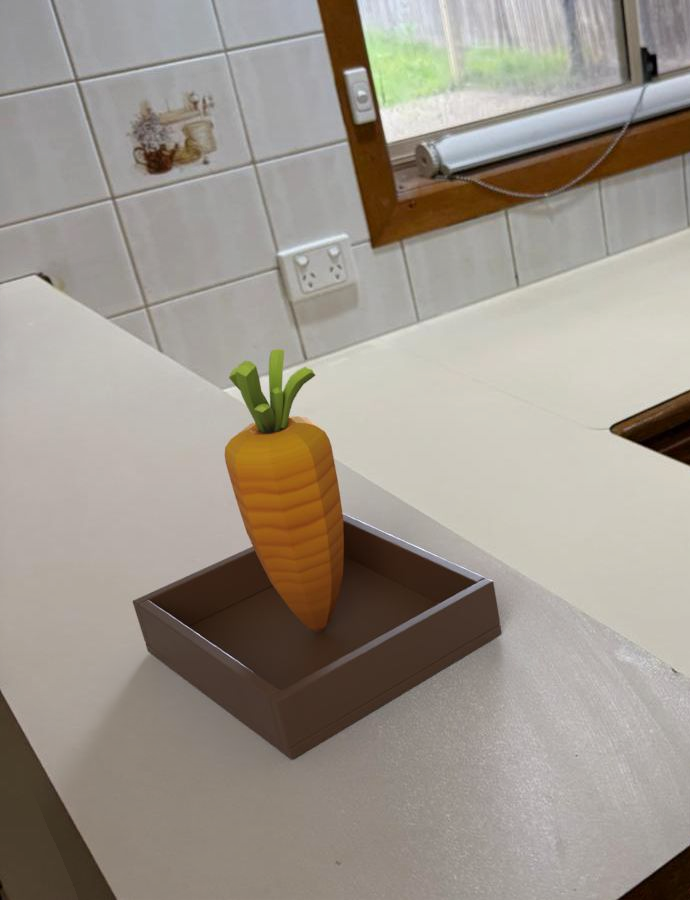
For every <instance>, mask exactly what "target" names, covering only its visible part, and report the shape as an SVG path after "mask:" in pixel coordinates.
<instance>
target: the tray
mask: <svg viewBox="0 0 690 900" xmlns="http://www.w3.org/2000/svg"><path fill="white" fill-rule="evenodd" d="M343 532H344V558H343V575H342V580H341V586H340V591H339V596H338V599H337V602H336V605H335V608H334V611H333V614H332V617H331V620H330V622H329V623H328V625H327V626H326V627H325V629H324V630H323V631H322V632H320V633H318V632H315V631H313V630H310V629H308V628H307V627H306V625H305V624H304V623H303V622H302V621H301V620H300V619H299V618H298V617H297V616H296V615H295V614H294V613H293V612H292V611H291V609H290V608H289V607H288V605H287V604H286V603H285V601H284V600H283V599H282V597H281V596H280V595H279V593H278V592H277V590H276V589H275V588H274V586H273V585H272V584H271V582H270V580H269V578H268V576H267V574H266V572H265V570H264V568H263V566H262V564H261V562H260V560H259V558H258V556H257V554H256V552H255V549H254V547H253V545H252V546H251V547H248V548H246V549H243V550H242V551H240V552H237V553H235V554H233V555H231V556H228V557H226V558H224V559H221V560H220V561H217V562H214V563H213V564H211V565H208V566H206V567H204V568H202V569H199V570H198V571H195V572H193V573H191V574H188V575H187V576H184V577H182V578H180V579H177V580H175V581H173V582H171V583H168V584H167V585H164V586H162V587H160V588H158V589H156V590H154V591H151V592H149V593H147V594H145V595H142V596H140V597H138V598H136V599H134V600H132V604H133V608H134V611H135V614H136V618H137V622H138V624H139V627H140V631H141V634H142V637H143V640H144V643H145V647H146V651H147V652H148V653H149V654H151V656H153V657H155V658H156V659H157V660H159V661H160V662H161V663H163V664H164V665H165V666H166V667H168V668H169V669H171V670H172V671H173V672H174V673H176V674H177V675H178V676H180V677H181V678H182V679H183V680H185V681H186V682H188V683H189V684H190V685H192V686H193V687H194V688H195V689H197V690H198V691H199V692H201V693H202V694H204V695H205V696H206V697H208V699H210V700H211V701H213V702H214V703H216V704H217V705H218V706H220V707H221V708H222V709H223V710H225V711H226V712H228V713H229V714H230V715H231V716H233V717H234V718H235V719H237V720H238V721H239V722H241V723H242V724H243V725H245V726H246V727H247V728H249V729H250V730H251V731H253V732H254V733H255V734H257V735H259V737H261V738H262V739H264V740H265V742H267V743H268V744H269V745H271V746H273V747H274V748H275V749H276V750H277V751H279V752H281V753H282V754H283V755H285V756H286V757H287V758H288V759H290V760H294V759H296V758H297V757H299V756H301V755H303V754H304V753H306V752H308V751H310V750H312V749H313V748H314V747H316V746H318V745H319V744H322V743H323V742H325V741H326V740H327V739H329V738H332V737H333V736H335V735H336V734H338V733H340V732H341V731H342V730H344V729H346V728H348V727H349V726H351V725H353V724H354V723H356V722H358V721H359V720H361V719H363V718H364V717H366V716H367V715H369V714H371V713H373V712H374V711H376V710H377V709H379V708H381V707H382V706H384V705H387V704H388V703H389V702H391V701H393V700H395V699H397V698H398V697H399V696H401V695H403V694H404V693H407V692H408V691H409V690H412V689H413V688H414V687H416V686H419V684H421V683H423V682H424V681H427V680H428V679H429V678H431V677H433V676H434V675H436V674H437V673H440V672H441V671H442V670H444V669H446V668H448V667H449V666H451V665H452V664H454V663H456V662H458V661H459V660H461V659H463V658H465V657H466V656H468V655H469V654H471V653H473V652H474V651H475V650H478V649H479V648H481V647H482V646H484V645H486V644H488V643H489V642H491V641H492V640H494V639H496V638H498V637H499V636H501V635H502V628H501V627H502V626H501V620H500V615H499V614H500V613H499V608H498V601H497V596H496V589H495V582H494V581H493V580H492V579H489V578H486V577H484V576H483V575H481V574H479V573H476V572H473V571H471V570H469V569H467V568H466V567H462V566H461V565H459V564H456V563H454V562H451V561H449V560H447V559H445V558H443V557H441V556H438V555H436V554H434V553H432V552H430V551H427V550H425V549H423V548H421V547H419V546H416V545H414V544H412V543H409V542H407V541H405V540H404V539H401V538H399V537H396V536H394V535H392V534H389V533H388V532H385V531H383V530H381V529H379V528H377V527H375V526H372V525H370V524H368V523H365V522H363V521H361V520H359V519H356V518H354V517H352V516H350V515H347V514H346V513H343Z"/></svg>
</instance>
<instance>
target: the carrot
mask: <svg viewBox="0 0 690 900" xmlns="http://www.w3.org/2000/svg"><path fill="white" fill-rule="evenodd" d="M284 359H285V350H284V349H281V348H278V349H277V348H276V349H272V350H271V351H270V355H269V358H268V384H269V385H268V388H269V389H268V390H269V401H268V400H267V398H266V396H265V394H264V392H263V391H262V385H261V381H260V376H259V372H258V367H257V365H256V364H255V363H253V362H252V361H250V360H243V361H242V362H240V363H239V364H238V365H237V367H235V368H233V369H232V371H231V372H230V374H229V376H228V379H229V380H230V382H232V383H233V385H234V386H235V387H236V388H237V389H238V390H239V391H240V394H241V397H242V399H243V401H244V403H245V405H246V407H247V409H248V411H249V413H250V415H251V417H252V419H253V422H252V423H250V424H248V425H247V426H246V427H244V428H243V429H241V430H240V431H239V432H238V433H237V434H235V435H234V436H232V437H231V438H230V440H229V441H228V442H227V444H226V445H225V446H224V461H225V465H226V469H227V472H228V476H229V479H230V483H231V486H232V490H233V493H234V498H235V500H236V503H237V507H238V510H239V513H240V516H241V519H242V522H243V525H244V528H245V531H246V534H247V536H248V538H249V541H250V543H251V545H252V546H253V547H254V549H255V552H256V554H257V556H258V558H259V560H260V562H261V564H262V566H263V568H264V570H265V572H266V574H267V576H268V578H269V580H270V582H271V584H272V585H273V586H274V588H275V589H276V590H277V592H278V593H279V595H280V596H281V597H282V599H283V600H284V601H285V603H286V604H287V605H288V607H289V608H290V609H291V611H292V612H293V613H294V614H295V615H296V616H297V617H298V618H299V619H300V620H301V621H302V622H303V623H304V624H305V625H306V627H307V628H308V629H310V630H313V631H315V632H318V633H320V632H322V631H323V630H324V629H325V627H326V626H327V625H328V623H329V622H330V620H331V617H332V614H333V611H334V608H335V605H336V602H337V599H338V596H339V591H340V586H341V580H342V575H343V558H344V532H343V514H344V513H343V508H342V507H343V506H342V500H341V492H340V486H339V480H338V475H337V469H336V465H335V459H334V458H335V457H334V452H333V447H332V443H331V439H330V438H329V436H328V435H327V433H326V431H325V430H324V429H322V428H321V427H320V426H319V425H318V424H316V423H315V422H314V421H312V420H311V419H309V418H307V417H306V416H298V415H297V416H295V415H292V416H291V415H290V413H291V409H292V407H293V403H294V400H295V399H296V398H297V395H298V393H299V391H300V390H301V389H302V387H303V386H304V385H305V384H306V383H307V382H309V381H310V380H311V379H313V378H314V377H315V376H316V374H315V372H314V371H313V369H312V368H310V367H308V366H304V367H302V368H300V369H298V370H297V371H296V372H294V373H293V374H292V375H290V376H289V378H288V380H287V382H286V383H285V386H284V388H283V375H284V374H283V373H284V372H283V371H284Z"/></svg>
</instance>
